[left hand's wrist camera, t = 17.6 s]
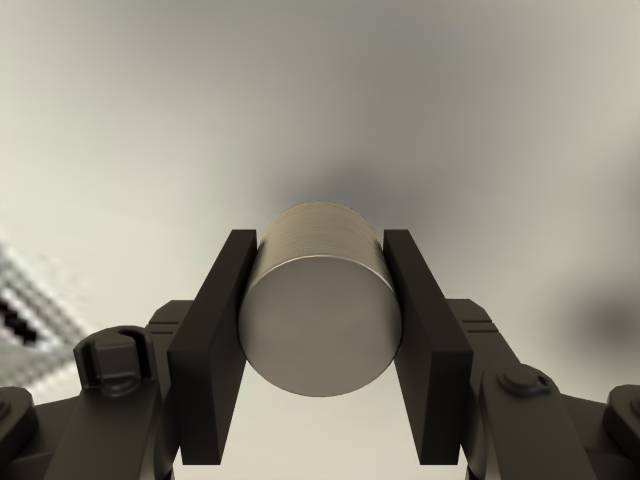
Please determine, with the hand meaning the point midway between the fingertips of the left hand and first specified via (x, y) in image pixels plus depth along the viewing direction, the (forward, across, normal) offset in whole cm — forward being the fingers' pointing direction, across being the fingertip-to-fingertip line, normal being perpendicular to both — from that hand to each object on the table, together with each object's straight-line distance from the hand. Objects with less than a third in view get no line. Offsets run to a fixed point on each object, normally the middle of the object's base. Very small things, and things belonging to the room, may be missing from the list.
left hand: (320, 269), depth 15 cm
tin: (0, 0, 0) cm, 0 cm away
